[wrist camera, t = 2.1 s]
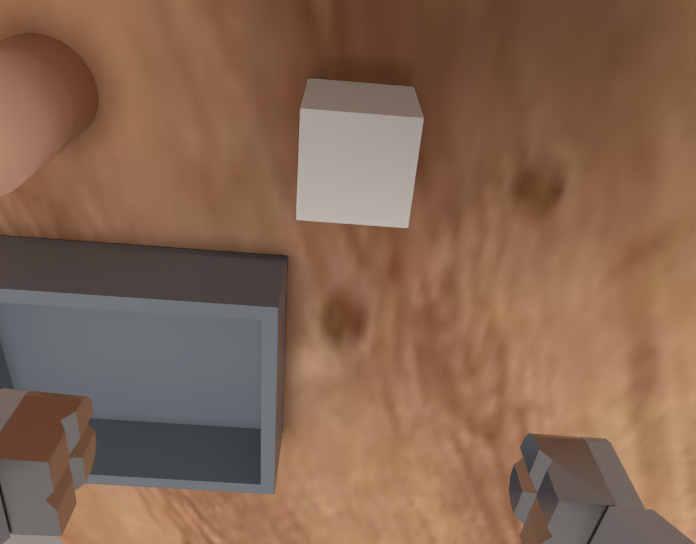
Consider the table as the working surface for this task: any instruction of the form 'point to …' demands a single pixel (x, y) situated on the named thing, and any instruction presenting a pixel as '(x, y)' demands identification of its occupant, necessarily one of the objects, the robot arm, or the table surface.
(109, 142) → the table surface
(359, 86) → the cream cube
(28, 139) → the tan rounded cylinder
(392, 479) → the table surface
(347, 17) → the table surface
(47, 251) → the box
